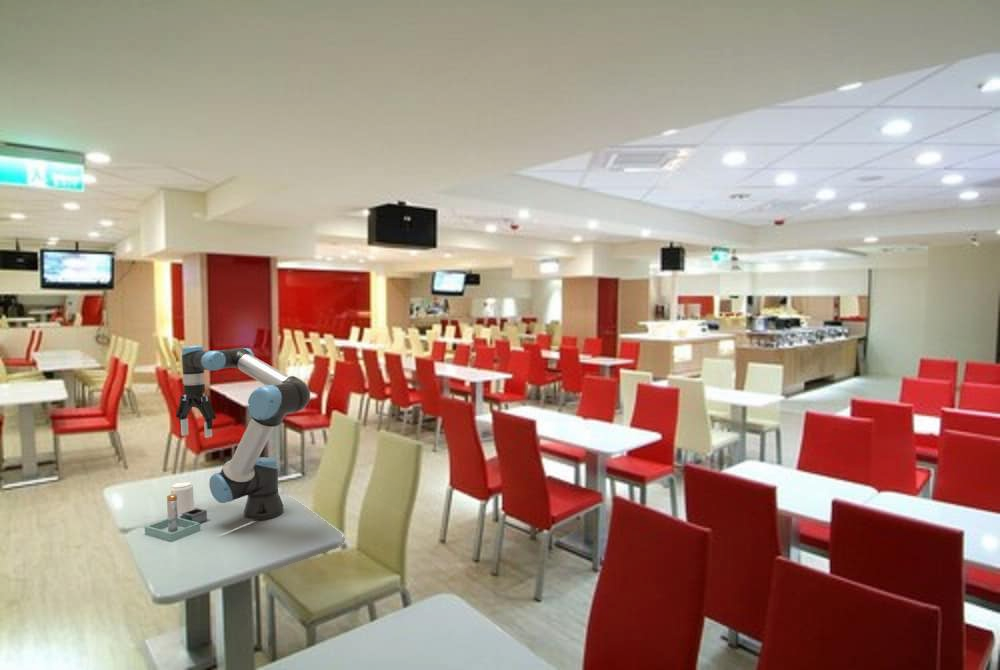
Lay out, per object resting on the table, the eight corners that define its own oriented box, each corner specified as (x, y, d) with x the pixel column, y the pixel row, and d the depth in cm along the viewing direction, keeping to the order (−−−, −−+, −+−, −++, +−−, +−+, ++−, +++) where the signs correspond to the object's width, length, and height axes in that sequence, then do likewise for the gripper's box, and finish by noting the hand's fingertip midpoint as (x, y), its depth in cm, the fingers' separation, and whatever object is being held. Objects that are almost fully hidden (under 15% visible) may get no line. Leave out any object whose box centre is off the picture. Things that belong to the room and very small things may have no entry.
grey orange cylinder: (179, 531, 203) (178, 495, 202) (171, 534, 200) (170, 497, 200) (174, 530, 204) (173, 493, 204) (166, 533, 201) (165, 496, 201)
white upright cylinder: (198, 509, 229) (197, 481, 228) (185, 516, 221) (184, 487, 220) (180, 508, 230) (179, 481, 229) (167, 516, 221) (165, 487, 221)
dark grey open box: (211, 522, 214) (210, 509, 214) (191, 529, 207) (191, 516, 206) (192, 517, 219) (191, 505, 219) (172, 524, 212) (171, 512, 212)
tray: (200, 532, 203) (200, 523, 203) (171, 544, 194) (171, 533, 194) (174, 526, 211) (173, 516, 211) (145, 536, 201) (144, 526, 201)
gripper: (224, 383, 216) (226, 435, 217) (181, 382, 226) (183, 432, 226) (207, 386, 209) (210, 440, 210) (164, 384, 219) (166, 436, 220)
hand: (196, 436), depth 218 cm, fingers open, 13 cm apart
